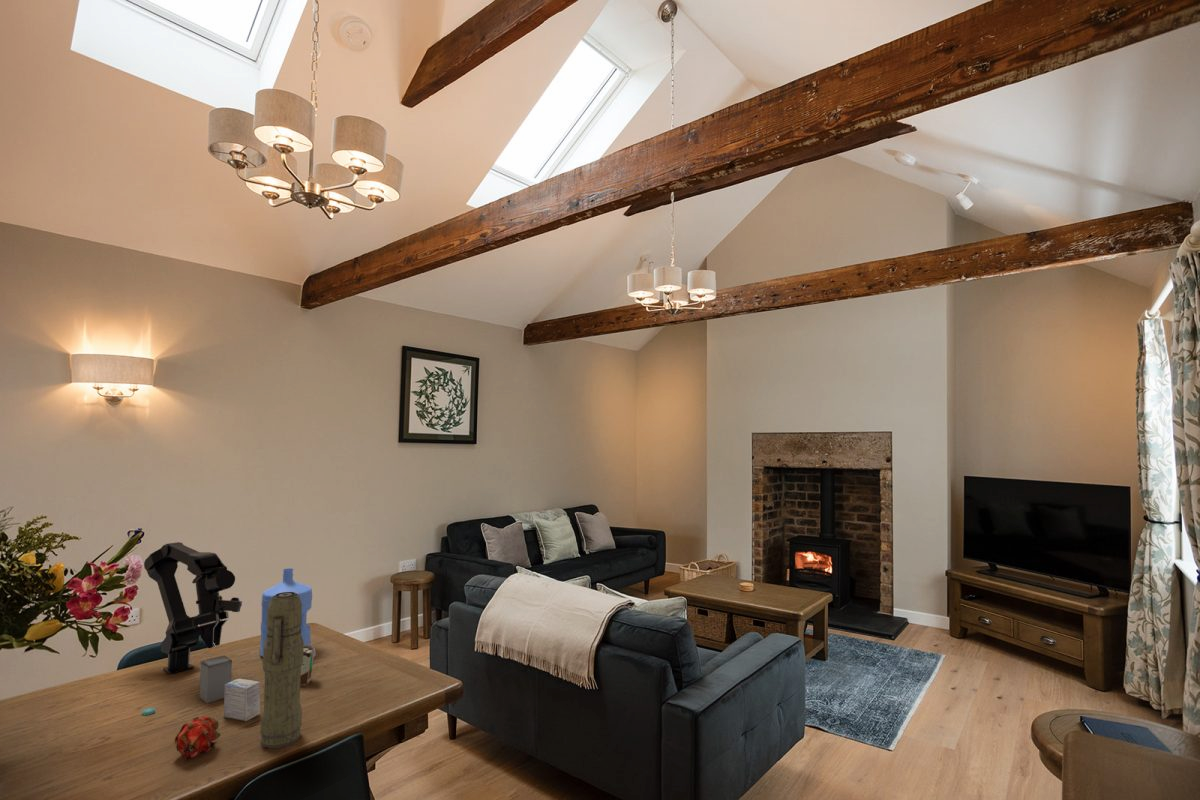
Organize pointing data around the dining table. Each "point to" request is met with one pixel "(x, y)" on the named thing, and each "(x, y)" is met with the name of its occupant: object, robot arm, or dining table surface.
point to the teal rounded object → (148, 711)
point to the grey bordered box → (214, 678)
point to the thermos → (282, 672)
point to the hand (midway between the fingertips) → (214, 646)
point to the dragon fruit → (197, 736)
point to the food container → (307, 663)
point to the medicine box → (242, 699)
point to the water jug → (287, 586)
